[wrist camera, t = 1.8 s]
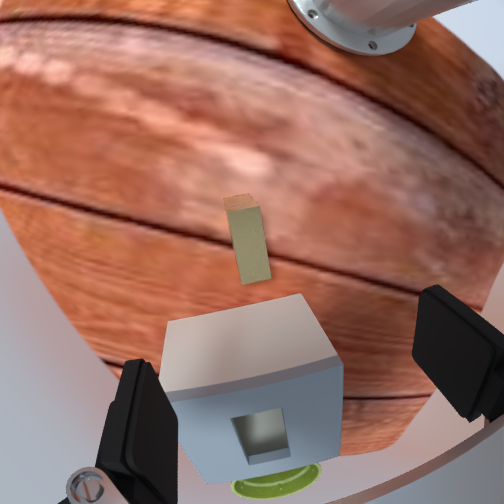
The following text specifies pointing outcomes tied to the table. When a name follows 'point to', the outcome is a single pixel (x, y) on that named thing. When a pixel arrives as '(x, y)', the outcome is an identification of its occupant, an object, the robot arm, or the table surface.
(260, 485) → the plant pot
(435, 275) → the table surface
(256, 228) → the block
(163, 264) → the table surface
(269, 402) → the grey slotted box
